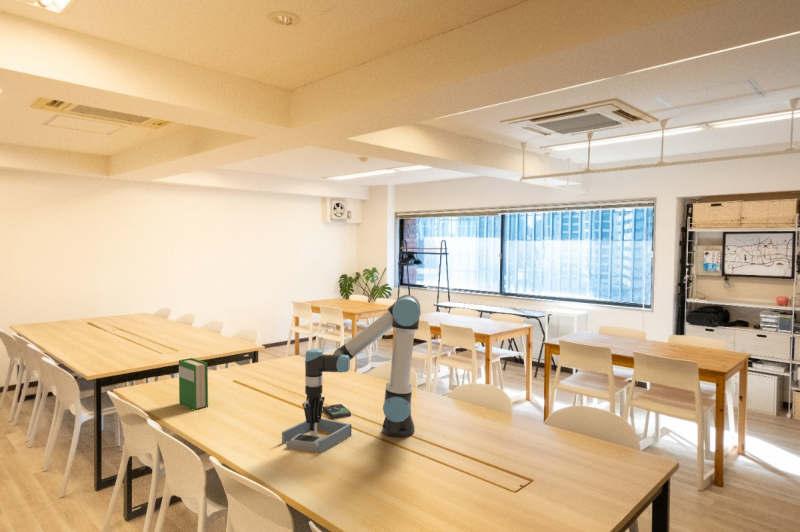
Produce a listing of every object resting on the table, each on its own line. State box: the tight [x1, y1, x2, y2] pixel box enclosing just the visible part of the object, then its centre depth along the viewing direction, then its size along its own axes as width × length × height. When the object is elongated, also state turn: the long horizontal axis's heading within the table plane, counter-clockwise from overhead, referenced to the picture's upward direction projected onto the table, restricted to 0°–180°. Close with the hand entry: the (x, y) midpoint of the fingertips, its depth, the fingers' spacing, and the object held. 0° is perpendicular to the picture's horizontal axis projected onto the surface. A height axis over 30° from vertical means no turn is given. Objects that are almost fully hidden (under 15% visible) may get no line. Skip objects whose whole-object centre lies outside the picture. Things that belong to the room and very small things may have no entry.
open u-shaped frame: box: [281, 417, 352, 454], centre depth 221 cm, size 21×22×5 cm
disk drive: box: [322, 403, 352, 420], centre depth 256 cm, size 10×3×15 cm
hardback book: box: [178, 357, 209, 411], centre depth 267 cm, size 18×7×24 cm, turn 48°
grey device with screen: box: [285, 433, 324, 453], centre depth 214 cm, size 10×4×15 cm
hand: (313, 437), depth 219 cm, fingers closed
